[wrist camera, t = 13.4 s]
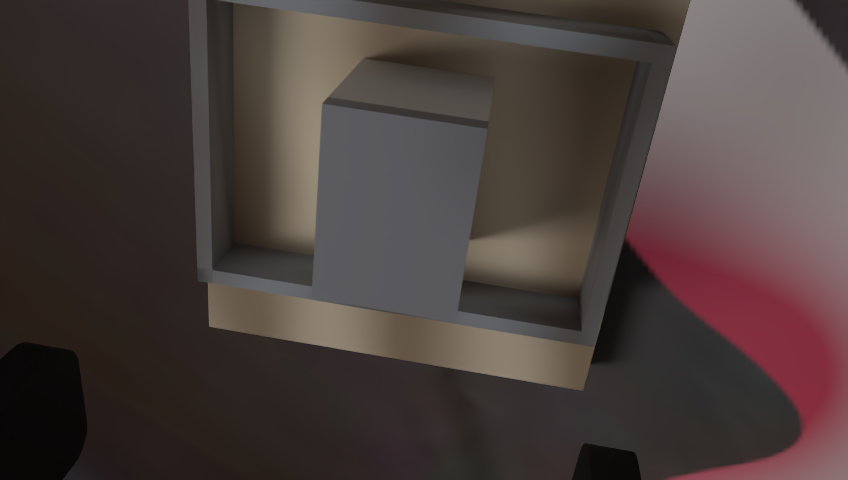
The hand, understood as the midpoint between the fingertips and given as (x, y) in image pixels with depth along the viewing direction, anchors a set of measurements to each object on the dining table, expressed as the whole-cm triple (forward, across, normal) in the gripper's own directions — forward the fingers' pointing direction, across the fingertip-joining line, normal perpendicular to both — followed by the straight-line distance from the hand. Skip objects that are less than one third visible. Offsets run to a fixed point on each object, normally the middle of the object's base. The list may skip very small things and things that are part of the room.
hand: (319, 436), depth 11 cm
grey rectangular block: (+13, 0, 0) cm, 13 cm away
